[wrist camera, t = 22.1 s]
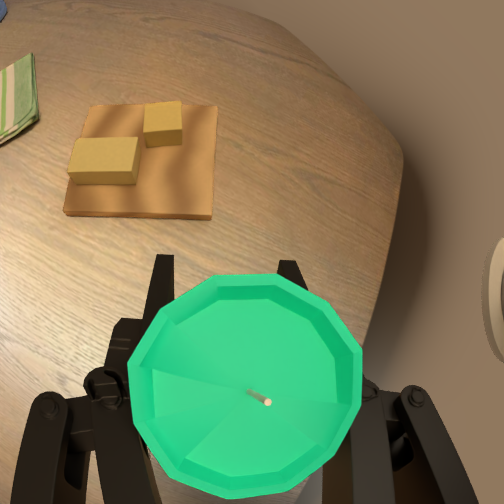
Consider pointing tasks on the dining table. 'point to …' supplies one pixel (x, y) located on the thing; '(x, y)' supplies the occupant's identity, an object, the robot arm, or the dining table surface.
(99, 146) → the butter block
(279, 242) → the dining table surface
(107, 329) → the dining table surface
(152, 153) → the butter board
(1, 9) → the water jug
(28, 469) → the robot arm
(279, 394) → the candle
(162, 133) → the butter slice
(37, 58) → the dining table surface
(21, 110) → the dish towel
